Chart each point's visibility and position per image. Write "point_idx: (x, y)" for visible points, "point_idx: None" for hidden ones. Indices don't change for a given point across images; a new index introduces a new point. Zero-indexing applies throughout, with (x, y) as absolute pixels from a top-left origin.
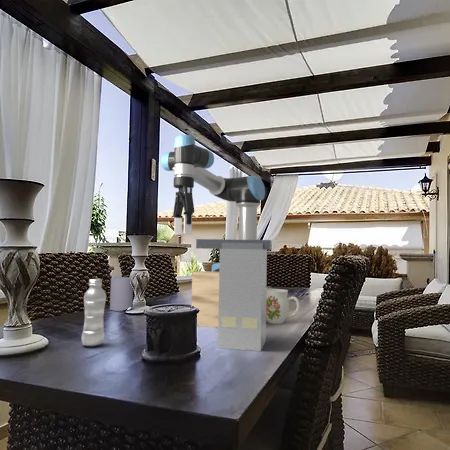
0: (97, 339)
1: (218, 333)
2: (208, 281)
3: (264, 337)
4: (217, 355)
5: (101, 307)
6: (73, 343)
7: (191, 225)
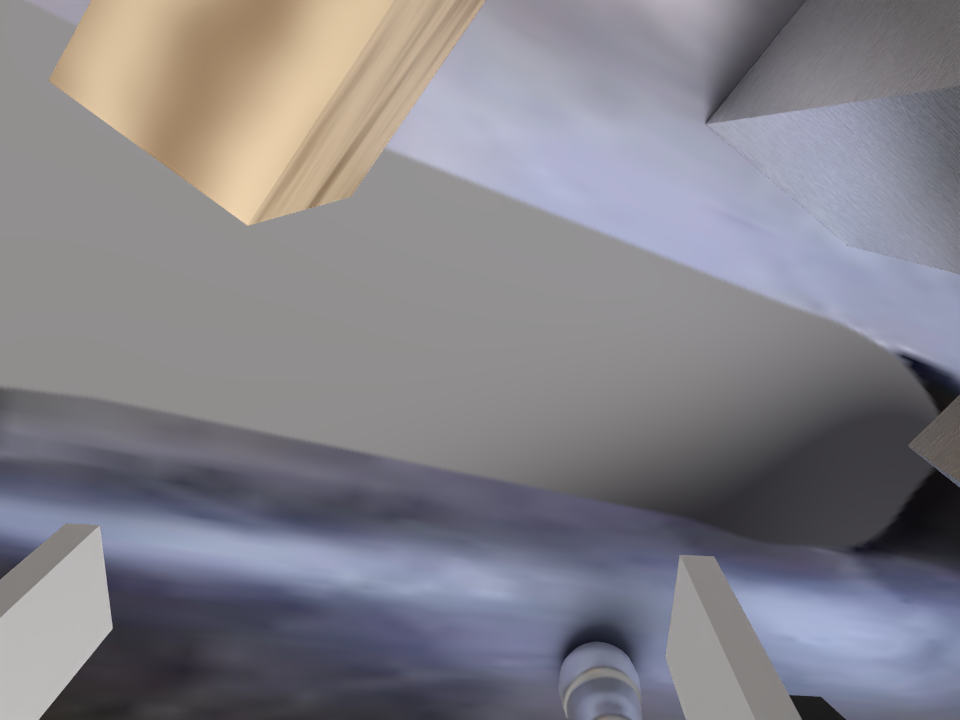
0: (638, 676)
1: (880, 252)
2: (357, 91)
3: None
4: (944, 292)
5: None
6: (533, 714)
7: (763, 655)
